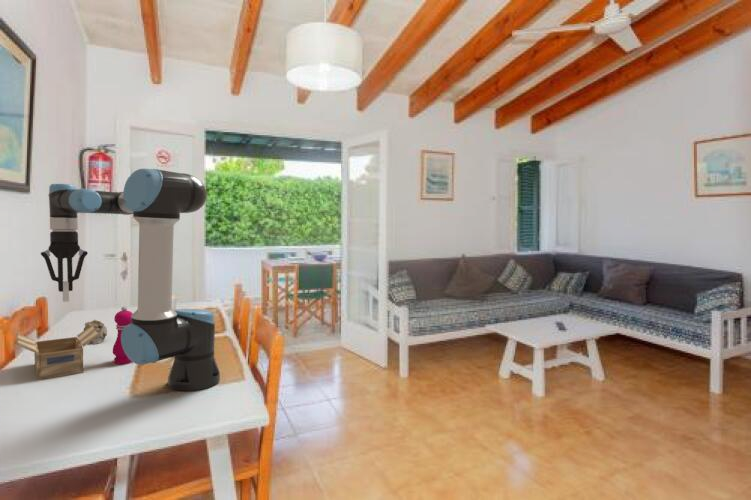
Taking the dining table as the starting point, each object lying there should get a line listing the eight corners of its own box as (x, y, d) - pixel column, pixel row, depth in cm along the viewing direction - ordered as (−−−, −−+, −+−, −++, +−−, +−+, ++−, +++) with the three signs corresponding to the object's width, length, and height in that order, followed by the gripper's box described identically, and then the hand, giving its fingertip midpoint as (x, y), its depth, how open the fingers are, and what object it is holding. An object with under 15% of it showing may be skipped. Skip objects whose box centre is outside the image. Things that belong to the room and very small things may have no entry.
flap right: (82, 345, 142) (83, 346, 142) (98, 334, 145) (99, 335, 145) (76, 335, 155) (77, 336, 155) (91, 325, 157) (92, 326, 158)
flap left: (18, 343, 131) (17, 345, 131) (36, 351, 134) (36, 353, 134) (17, 332, 144) (16, 333, 144) (34, 340, 147) (33, 341, 147)
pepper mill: (125, 365, 149) (125, 308, 148) (107, 364, 151) (107, 307, 150) (140, 359, 157) (140, 305, 155) (123, 357, 158) (123, 303, 157)
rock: (112, 339, 178) (105, 316, 178) (94, 344, 173) (87, 320, 173) (103, 342, 186) (96, 320, 186) (85, 347, 181) (79, 325, 181)
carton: (83, 372, 142) (83, 348, 141) (37, 380, 134) (36, 355, 133) (76, 358, 156) (76, 336, 156) (34, 364, 148) (34, 341, 148)
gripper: (86, 230, 151) (87, 297, 152) (38, 230, 142) (40, 301, 143) (88, 231, 145) (90, 300, 146) (39, 230, 137) (41, 304, 138)
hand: (65, 300), depth 145 cm, fingers closed
